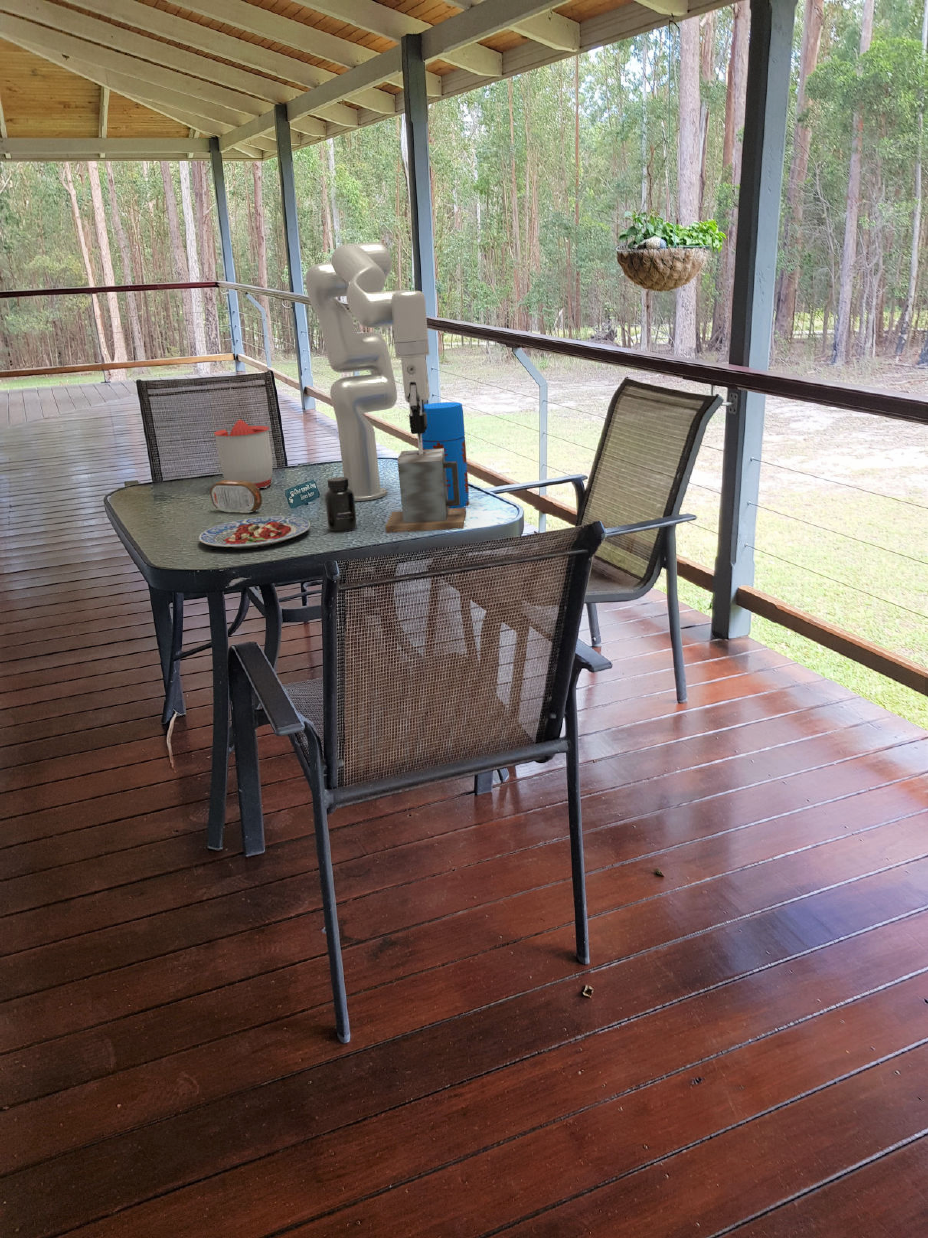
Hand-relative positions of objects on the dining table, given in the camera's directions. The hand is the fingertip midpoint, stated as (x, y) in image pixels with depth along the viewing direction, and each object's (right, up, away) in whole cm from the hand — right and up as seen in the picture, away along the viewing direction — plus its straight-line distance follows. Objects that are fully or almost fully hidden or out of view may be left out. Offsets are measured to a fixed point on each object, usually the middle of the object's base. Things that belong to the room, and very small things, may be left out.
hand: (419, 430), depth 221 cm
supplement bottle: (-18, -22, +8) cm, 30 cm away
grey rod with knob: (+1, -16, +6) cm, 17 cm away
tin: (-49, -15, +33) cm, 61 cm away
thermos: (+6, -15, +23) cm, 28 cm away
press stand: (+2, -20, +7) cm, 22 cm away
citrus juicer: (-53, -5, +62) cm, 82 cm away
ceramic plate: (-38, -25, +6) cm, 46 cm away
